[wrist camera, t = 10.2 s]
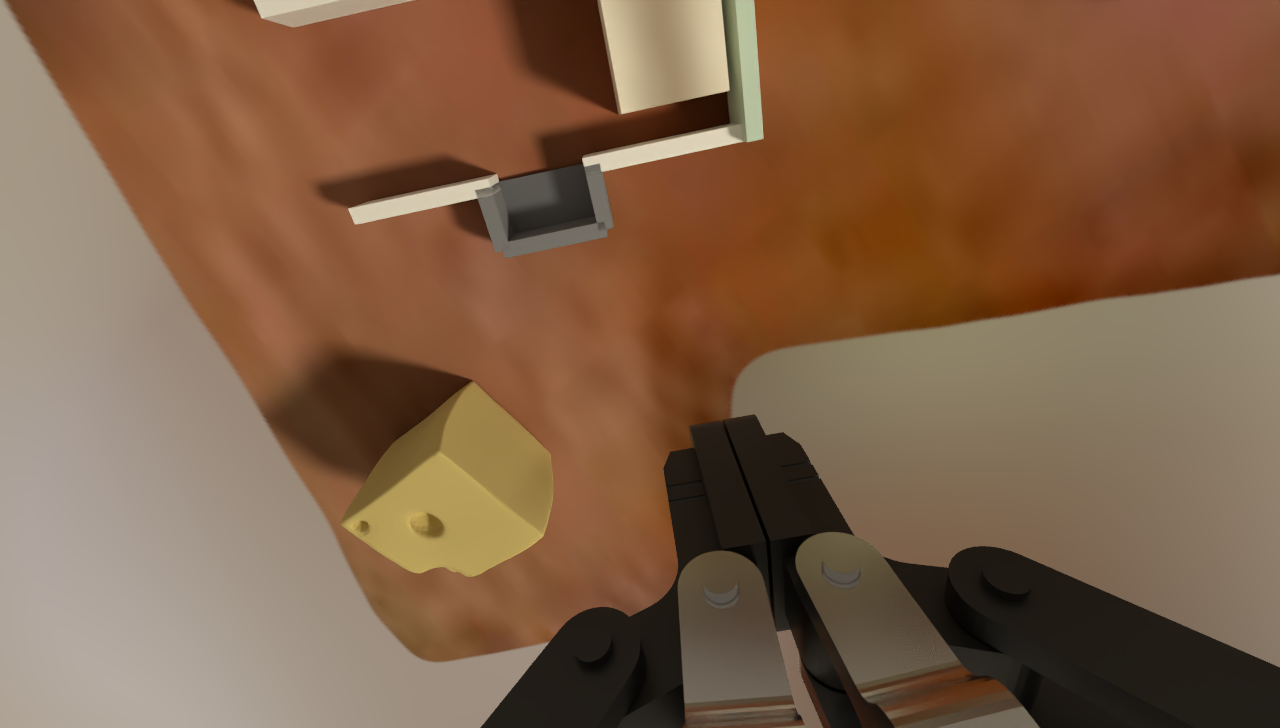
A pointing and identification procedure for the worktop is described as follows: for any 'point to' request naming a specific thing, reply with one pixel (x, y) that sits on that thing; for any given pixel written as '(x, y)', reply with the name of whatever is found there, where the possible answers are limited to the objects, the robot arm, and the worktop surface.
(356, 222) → the trap box
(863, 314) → the worktop surface
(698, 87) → the birch block
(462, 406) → the cheese
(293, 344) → the worktop surface
